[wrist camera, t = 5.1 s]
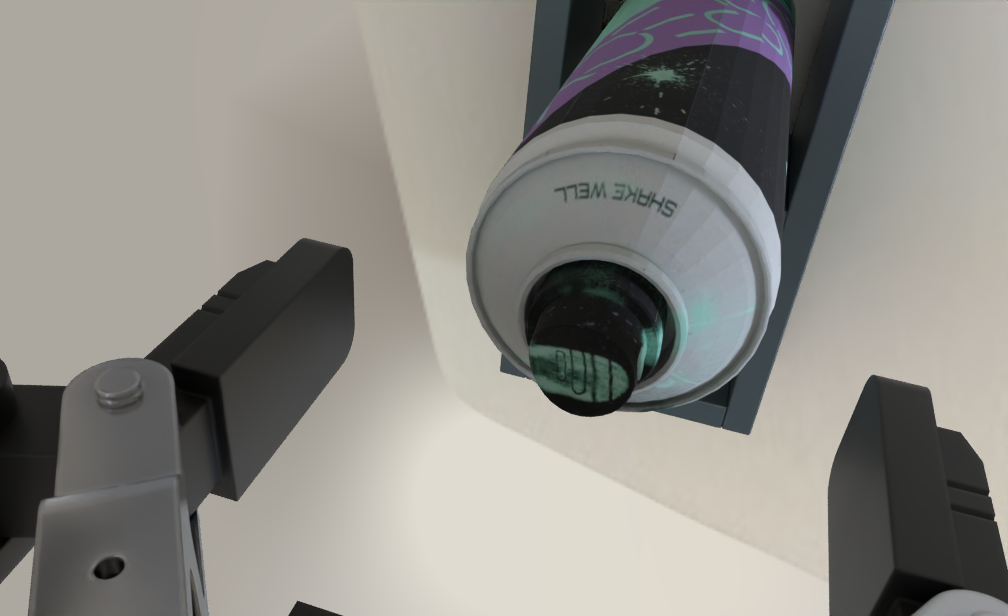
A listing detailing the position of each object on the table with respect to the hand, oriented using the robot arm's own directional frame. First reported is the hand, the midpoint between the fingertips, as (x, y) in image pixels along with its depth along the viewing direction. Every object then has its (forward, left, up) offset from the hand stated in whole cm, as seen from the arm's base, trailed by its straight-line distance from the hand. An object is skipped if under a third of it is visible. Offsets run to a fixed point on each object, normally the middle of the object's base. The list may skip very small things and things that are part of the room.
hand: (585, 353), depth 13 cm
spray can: (0, 0, -20) cm, 20 cm away
